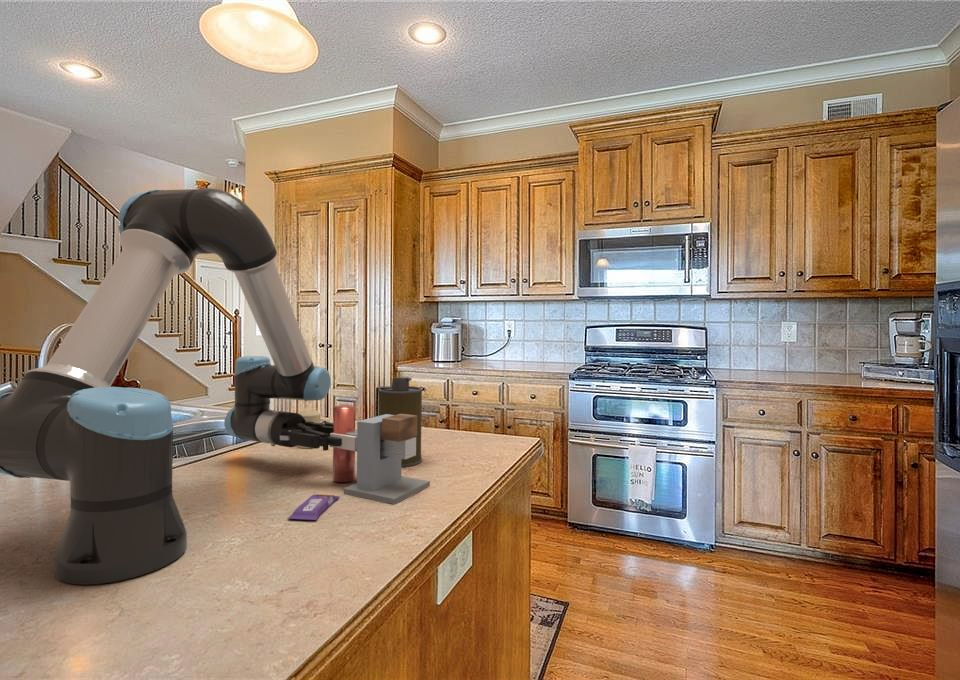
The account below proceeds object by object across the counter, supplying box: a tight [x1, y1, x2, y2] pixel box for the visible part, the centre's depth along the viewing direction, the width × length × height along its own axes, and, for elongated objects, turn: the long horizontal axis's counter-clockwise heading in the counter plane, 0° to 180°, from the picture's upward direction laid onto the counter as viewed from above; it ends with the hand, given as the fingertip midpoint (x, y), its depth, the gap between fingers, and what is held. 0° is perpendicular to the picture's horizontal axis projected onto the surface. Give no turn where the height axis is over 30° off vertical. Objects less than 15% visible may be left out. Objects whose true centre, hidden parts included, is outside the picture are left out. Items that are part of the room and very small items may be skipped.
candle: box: [297, 407, 321, 449], centre depth 136 cm, size 6×6×10 cm
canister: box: [375, 376, 423, 468], centre depth 123 cm, size 11×10×20 cm
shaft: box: [332, 404, 416, 483], centre depth 104 cm, size 4×19×15 cm, turn 63°
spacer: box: [382, 414, 417, 442], centre depth 101 cm, size 6×4×4 cm, turn 153°
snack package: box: [287, 493, 341, 521], centre depth 92 cm, size 12×2×5 cm
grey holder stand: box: [343, 414, 431, 505], centre depth 102 cm, size 12×12×14 cm
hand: (364, 441), depth 105 cm, fingers closed on shaft, 4 cm apart
